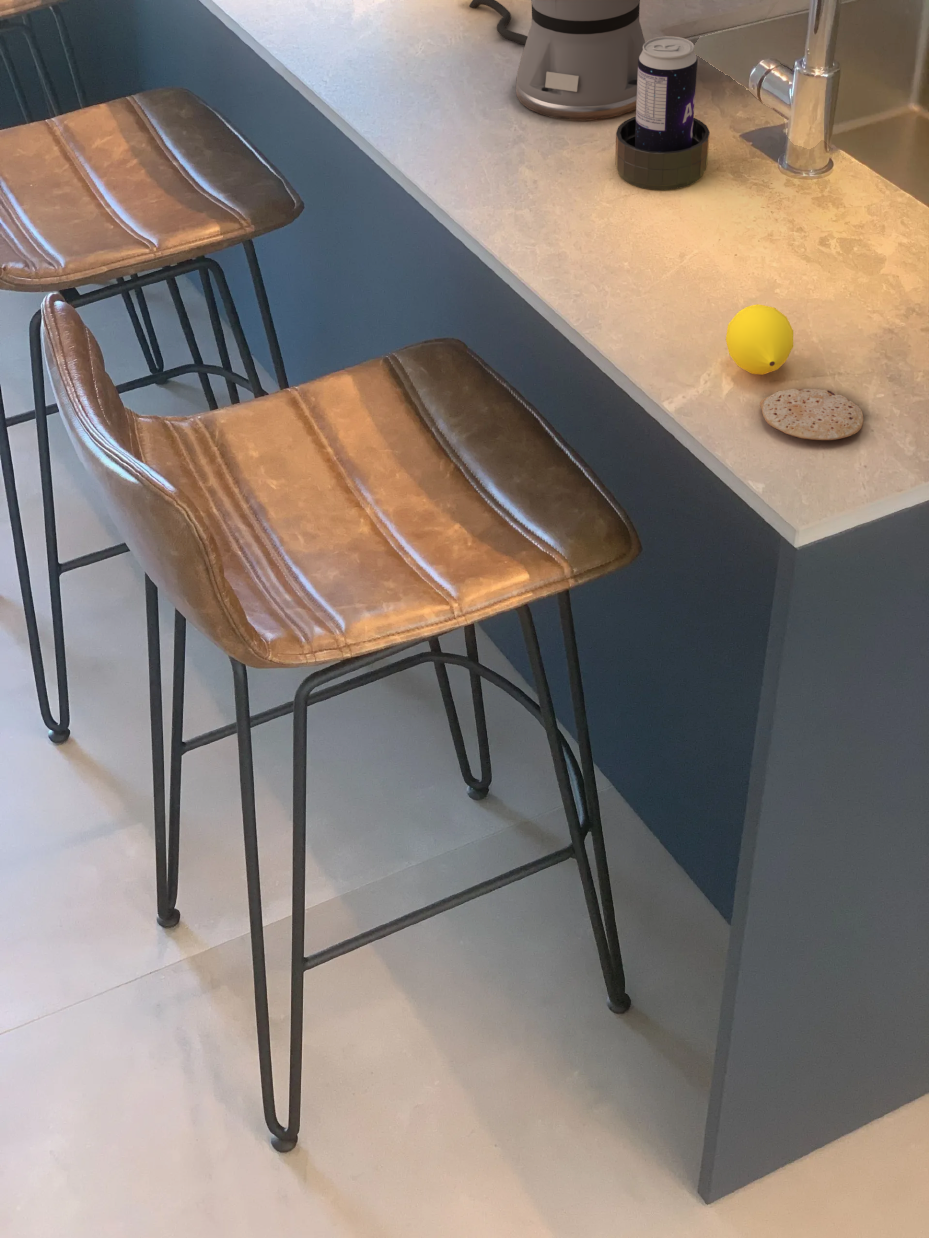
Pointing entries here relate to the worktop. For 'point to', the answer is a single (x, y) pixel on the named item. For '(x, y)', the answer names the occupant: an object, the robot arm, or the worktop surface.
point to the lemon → (759, 339)
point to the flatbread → (812, 414)
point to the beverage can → (665, 94)
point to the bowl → (661, 160)
